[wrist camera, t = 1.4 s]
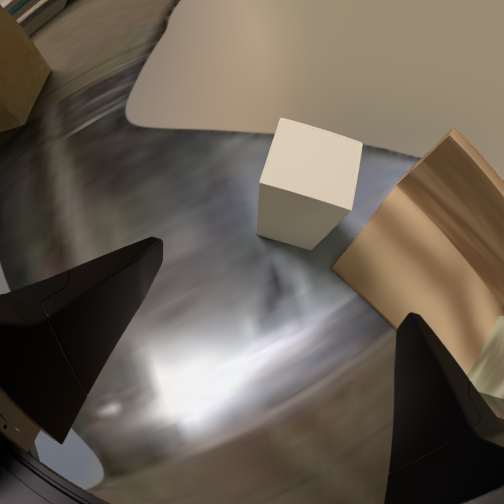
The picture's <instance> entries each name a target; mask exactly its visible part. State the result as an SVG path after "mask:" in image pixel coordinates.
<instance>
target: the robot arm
mask: <svg viewBox="0 0 504 504" xmlns="http://www.w3.org/2000/svg"><path fill="white" fill-rule="evenodd" d="M162 261H163V241H162V240H161V239H159V238H155V237H149V238H147V239H144V240H141V241H139V242H136V243H134V244H131V245H128V246H126V247H123V248H121V249H118V250H116V251H113V252H111V253H108V254H106V255H103V256H101V257H98V258H96V259H93V260H91V261H89V262H86V263H84V264H81V265H79V266H77V267H74V268H72V269H71V270H67V271H65V272H62V273H60V274H58V275H55V276H53V277H50V278H48V279H45V280H42V281H40V282H37V283H34V284H31V285H28V286H26V287H23V288H20V289H17V290H14V291H12V292H9V293H6V294H1V295H0V504H110V503H108V502H106V501H104V500H102V499H100V498H98V497H96V496H95V495H93V494H91V493H89V492H87V491H85V490H84V489H82V488H80V487H78V486H77V485H75V484H73V483H72V482H70V481H68V480H67V479H65V478H64V477H62V476H61V475H59V474H57V473H56V472H55V471H53V470H52V469H50V468H49V467H47V466H46V465H45V464H43V463H41V462H40V460H39V456H38V453H37V450H36V446H35V442H34V441H35V439H36V437H37V435H38V433H39V432H40V430H41V431H42V432H44V433H45V434H46V435H48V436H49V437H51V438H52V439H54V440H55V441H57V442H58V443H60V444H63V442H64V440H65V438H66V436H67V434H68V432H69V430H70V428H71V426H72V424H73V422H74V421H75V419H76V417H77V415H78V413H79V411H80V409H81V407H82V405H83V403H84V401H85V400H86V398H87V395H88V394H89V392H90V390H91V388H92V386H93V385H94V383H95V381H96V379H97V377H98V376H99V374H100V372H101V370H102V369H103V367H104V365H105V363H106V362H107V360H108V358H109V356H110V355H111V353H112V351H113V350H114V348H115V346H116V345H117V343H118V341H119V340H120V338H121V336H122V335H123V333H124V331H125V330H126V328H127V326H128V325H129V323H130V321H131V320H132V318H133V317H134V315H135V313H136V312H137V310H138V309H139V307H140V305H141V304H142V302H143V300H144V299H145V297H146V295H147V293H148V291H149V289H150V287H151V285H152V283H153V281H154V278H155V276H156V274H157V272H158V270H159V268H160V266H161V264H162ZM469 380H470V379H469V378H468V376H467V375H466V374H465V372H464V371H463V369H462V368H461V367H460V365H459V364H458V363H457V361H456V360H455V358H454V357H453V356H452V354H451V353H450V352H449V351H448V349H447V348H446V347H445V345H444V344H443V343H442V341H441V340H440V339H439V338H438V336H437V335H436V334H435V332H434V331H433V330H432V329H431V327H430V326H429V325H428V324H427V322H426V321H425V320H424V319H423V318H422V316H421V315H420V314H417V313H413V312H410V313H408V314H407V316H406V317H405V319H404V320H403V321H402V323H401V324H400V325H399V327H398V329H397V333H396V350H395V364H394V416H393V434H392V448H391V458H390V467H389V472H390V473H389V475H388V482H387V489H386V496H385V502H384V504H504V425H503V424H502V423H501V421H500V420H499V419H498V417H497V416H496V415H495V413H494V412H493V411H492V409H491V408H490V407H489V405H488V404H487V403H486V401H485V400H484V399H483V397H482V396H481V395H480V393H479V392H478V390H477V389H476V388H475V386H474V385H473V383H472V382H471V381H469Z"/></svg>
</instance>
